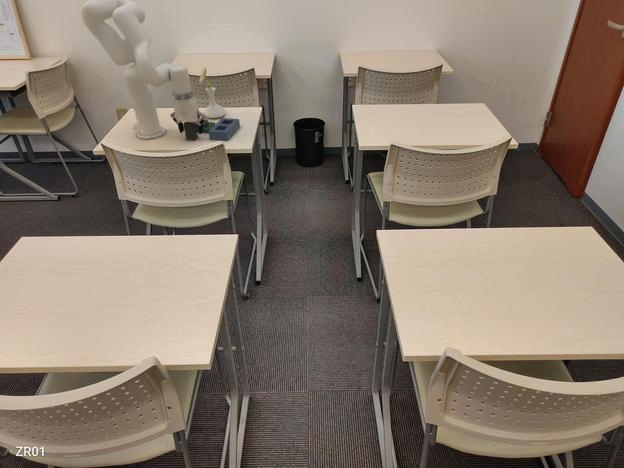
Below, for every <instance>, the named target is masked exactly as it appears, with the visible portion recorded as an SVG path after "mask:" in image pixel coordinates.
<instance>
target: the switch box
mask: <svg viewBox="0 0 624 468" xmlns="http://www.w3.org/2000/svg"><path fill="white" fill-rule="evenodd" d="M195 123H196V122H195ZM215 124H216V122H215V121H209V120H208V119H207V118H206V119H205V123H203V124H202V125H203V132H202V133H201V134H209V130H210V129H211V128H212V127H213V126H214V125H215ZM197 126H198V124H197V123H196V128H197V133H198V134H199V132H198V127H197Z"/></svg>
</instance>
